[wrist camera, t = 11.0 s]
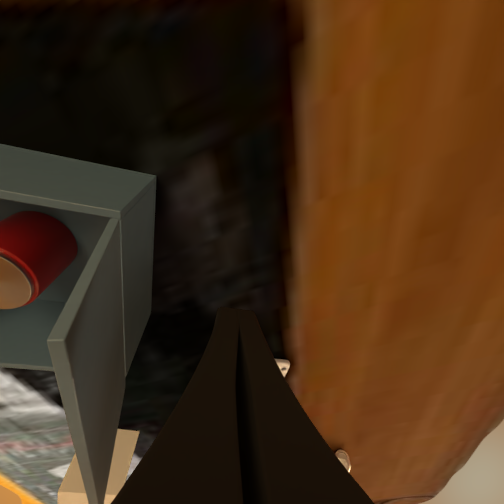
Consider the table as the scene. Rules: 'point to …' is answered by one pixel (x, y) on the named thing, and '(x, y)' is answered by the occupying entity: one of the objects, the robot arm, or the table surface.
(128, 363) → the carton
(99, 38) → the table surface
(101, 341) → the carton flap
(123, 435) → the tan cube
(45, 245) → the can
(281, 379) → the robot arm
